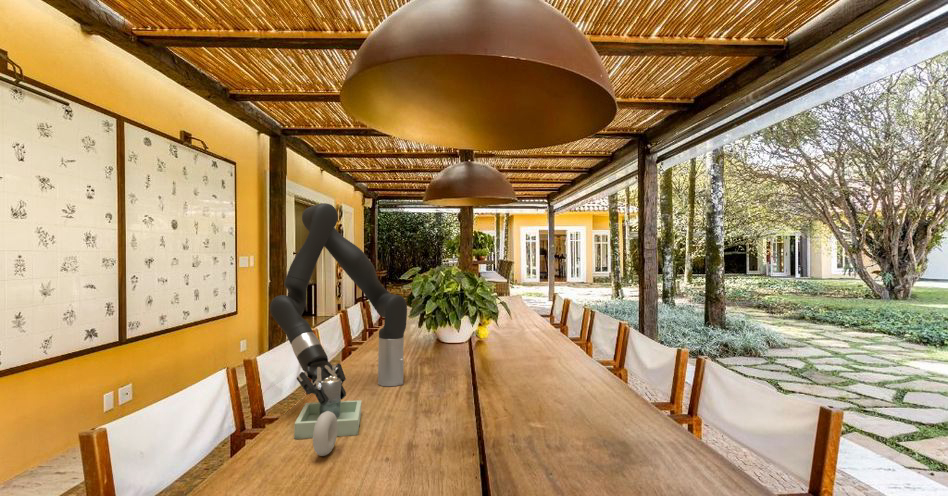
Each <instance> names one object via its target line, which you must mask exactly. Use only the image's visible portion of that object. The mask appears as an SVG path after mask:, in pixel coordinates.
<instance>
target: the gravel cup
mask: <svg viewBox="0 0 948 496" xmlns="http://www.w3.org/2000/svg"><path fill="white" fill-rule="evenodd" d="M320 384H321V390H323V392H324V393H325V395H326V397H327V399H328V402H327V403H326V404H325V405H322V404H320V410H319V416H320V415H321V414H322V413H324V412H326V411H330V412H332V413H334V414H335V416H336V418H338V417H339V416H340V406H341V401H342V399H341V379H340V378H337V377H336V376H329V377H326V378H325V379H322V380H321V381H320Z"/></svg>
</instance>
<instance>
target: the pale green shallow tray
mask: <svg viewBox="0 0 948 496" xmlns="http://www.w3.org/2000/svg"><path fill="white" fill-rule="evenodd" d="M319 410H320V403H319V401H318V402H317V401H316V402H306V403H304V405H303V407H302V409H301V411H300V413H299V415H298V417H297V418H296V420H295V422H294V433H293V436H294V437H293V438H294V440H300V439H303V440H304V439H313V432H314V427H315V424H316V422H317V419H318V417H319ZM361 416H362V399H361V400H358V399H357V400H341V406H340V416H339V417H338V418H337V424H338V430H337V437H347V436H348V437H350V436H358V435H359V429H360V423H361Z"/></svg>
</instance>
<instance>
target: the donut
mask: <svg viewBox="0 0 948 496" xmlns="http://www.w3.org/2000/svg"><path fill="white" fill-rule="evenodd" d="M337 430H338V424H337V418H336V416H335V414H334V413H332V412H330V411H326V412H324V413H322V414H321V415H320V416H319V417H318V419H317V422H316V424H315V427H314V432H313V438H312V446H313V450H314V452H315V453H316V455H318V456H321V457H326V456H327V455H329V454H330V453H331V452H332V450H333V449H334V446H335V444H336V442H337V437H338V436H337Z"/></svg>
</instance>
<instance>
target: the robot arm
mask: <svg viewBox="0 0 948 496" xmlns="http://www.w3.org/2000/svg"><path fill="white" fill-rule="evenodd" d="M301 220H302V224H303V226H304V227H305V229H306V230H307V231H308V235H307V237H306V239H305V241H304V243H303V244H302V246H301V247H300V249H299V250H298V252H297V254H296V255H295V257H294V258H293V260H292V262H291V263H290V266H289V269H288V271H287V274H286V277H285V279H284V283H283V284H284V285H283V286H284V287H285V288H286V289H287V295H284V294H281V295H277V296H275V297H273V299H272V300H271V302H270V304H269V305H270V306H269V310H270V314H271V316H272V318H273V319H274V321H275V322H276V323H277V325H278V326H279V327H280V328H281V330H282V331H283V333H285V335H286V338H287V340H288V341H289V344H290V345H291V348H292V351H293V353H294V355H295V358H296V359H297V361H298V364H299V366H300V367H301V369H302V371H301V372H299V374H298V375H297V376H296V380H297V382H298V383H299V384H300V386H301V387H302V389H303V390H304V391H305V393H306V394H307V395H310V394H313V395H315V398H316V399H317V401H318V402H319V403H320V404H322V405H325V404H326V403H327V402H328V399H327V397H326V395H325V393H324V392H323V390H321V384H320V381H321V380H322V379H325V378H326V377H329V376H336V377H337V378H340V379H341V400H343V399H344V398H346V396H347V392H346V390H345V388H344V385H343V384H344V383H345V381H346V380H347V378H346V375H345V373H344V369H343V367H342V365H341V363H339V362H338V363H337V364H334V365H333V364H332V363H331V362H329V358H328V355H327V353H326V351H325V349H324V348H323V346H322V345H323V344H321V342H320V340H319V338H318V337H317V335H316V334H315V333H314V331H313V329H312V327H311V325H310V323H309V321H307V320H306V319H305V318H303V317H302V316H303V313H304V312H305V308H306V302H307V301H306V299H307V290H308V286H309V284H310V281H311V279H312V276H313V273H314V270H315V269H316V268H315V267H316V266H317V265H316V264H317V263H318V260H319V258H320V256H321V254H322V251H323V249H324V247H325V249H326V250H327V251H328V253H329V254H330V255H331V256H332V258H333V259H334V260H335V261H336V262H337V264H338V265H339V266H340V267H341V269H342V270H343V271H344V273H345V274H346V275H347V276H348V277H349V279H351V280H352V281H353V283H354V284H355V285H356V286H357V287H358V289H360V291H361V292H362V293H363V294H364V295H365V296H366V298H367V299H368V301H369V303H370V304H371V306H372V307H373V309H374V310H375V312H376V313H377V314H378V315H379V316H380V317H381V318H384V324H383V327H382V328H380V329H379V330H378V360H377V361H378V363H377V365H378V366H377V385H379V386H381V387H396V386H397V387H398V386H400V385H401V386H402V385H404V360H405V359H404V343H405V342H404V340H405V338H404V337H405V331H406V330H407V329H406V328H407V317H408V305H407V301H406V299H405V298H404V297H403V296H402V295H399V294H392V293H390V292H389V291H388V290H387V289H386V288H385V286H384V285H383V284H382V283H381V282H380V281H379V278H378V275H377V272H376V268H375V266H374V264H373V263H372V261H371V260H370V259H369V258H368V256H367V255H366V253H365V252H364V251H363V250H362V249H361V248H360V247H358V246H357V245H356V244H354V243H353V242H351V241H350V240H348V238H345V237H344V236H343V235H342V234H341V233H340V232H339V231H338V229H336V226H337V224H338V221H339V214H338V211H337V209H336V207H335V206H333V204H330V203H323V202H322V203H318V204H314V205H311V206H308V207H307V208H305V209H304V210H303V212H302V215H301Z"/></svg>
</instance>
